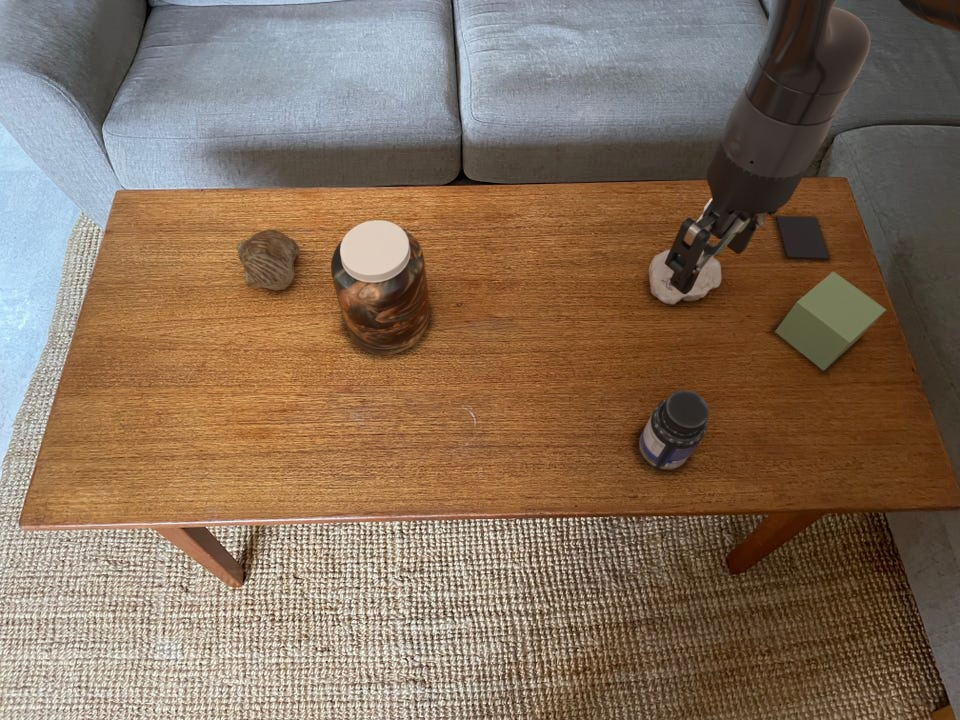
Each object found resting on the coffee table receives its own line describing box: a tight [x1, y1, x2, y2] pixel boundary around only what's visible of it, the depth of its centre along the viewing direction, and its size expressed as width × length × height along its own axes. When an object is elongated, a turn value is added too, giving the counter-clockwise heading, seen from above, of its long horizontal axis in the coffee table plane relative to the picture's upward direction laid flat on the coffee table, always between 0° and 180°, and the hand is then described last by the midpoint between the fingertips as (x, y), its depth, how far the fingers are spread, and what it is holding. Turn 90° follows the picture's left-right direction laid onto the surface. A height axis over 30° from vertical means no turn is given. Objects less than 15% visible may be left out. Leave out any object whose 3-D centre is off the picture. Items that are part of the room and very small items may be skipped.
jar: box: [330, 219, 431, 356], centre depth 83 cm, size 12×12×15 cm
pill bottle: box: [638, 389, 710, 471], centre depth 75 cm, size 6×6×11 cm
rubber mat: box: [775, 215, 830, 260], centre depth 98 cm, size 8×6×1 cm
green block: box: [774, 271, 887, 372], centre depth 86 cm, size 8×8×7 cm
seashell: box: [236, 229, 301, 291], centre depth 90 cm, size 9×7×8 cm
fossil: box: [648, 248, 723, 305], centre depth 91 cm, size 9×6×10 cm
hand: (707, 267), depth 68 cm, fingers open, 8 cm apart
